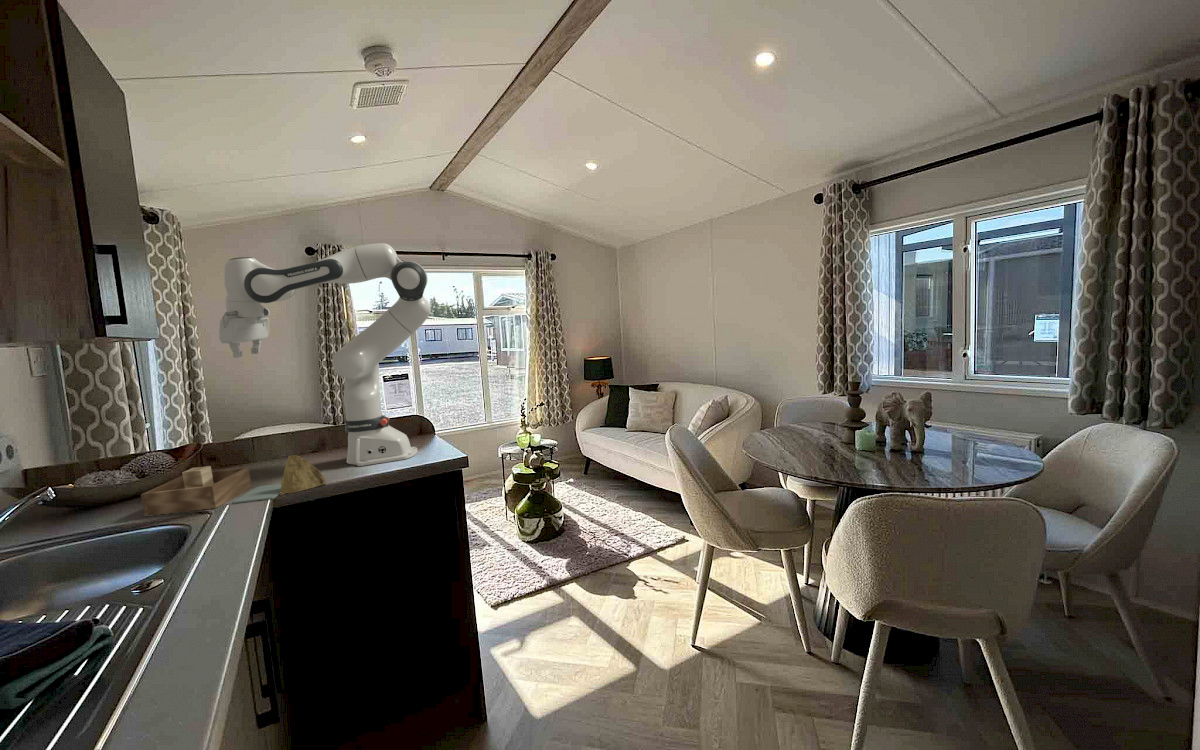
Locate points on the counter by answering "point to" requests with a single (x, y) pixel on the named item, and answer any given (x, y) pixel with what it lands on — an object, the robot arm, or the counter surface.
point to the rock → (300, 476)
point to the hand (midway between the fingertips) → (246, 355)
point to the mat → (260, 493)
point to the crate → (196, 493)
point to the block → (198, 477)
